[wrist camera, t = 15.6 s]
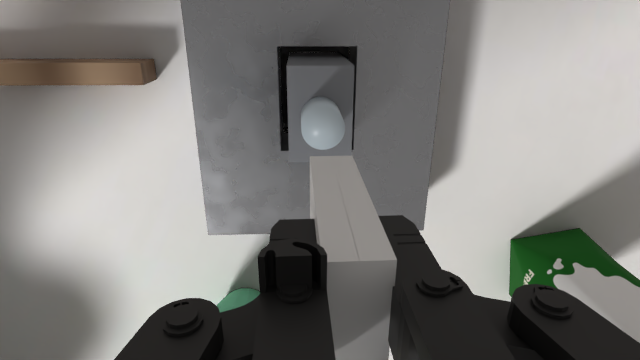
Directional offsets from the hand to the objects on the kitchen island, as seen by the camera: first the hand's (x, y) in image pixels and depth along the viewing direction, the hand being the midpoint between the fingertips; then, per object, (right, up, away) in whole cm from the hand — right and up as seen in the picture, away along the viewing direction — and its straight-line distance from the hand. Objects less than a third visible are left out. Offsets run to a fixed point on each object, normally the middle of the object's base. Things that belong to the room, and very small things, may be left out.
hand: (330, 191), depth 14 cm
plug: (-1, +8, +19) cm, 21 cm away
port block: (-1, +8, +19) cm, 21 cm away
